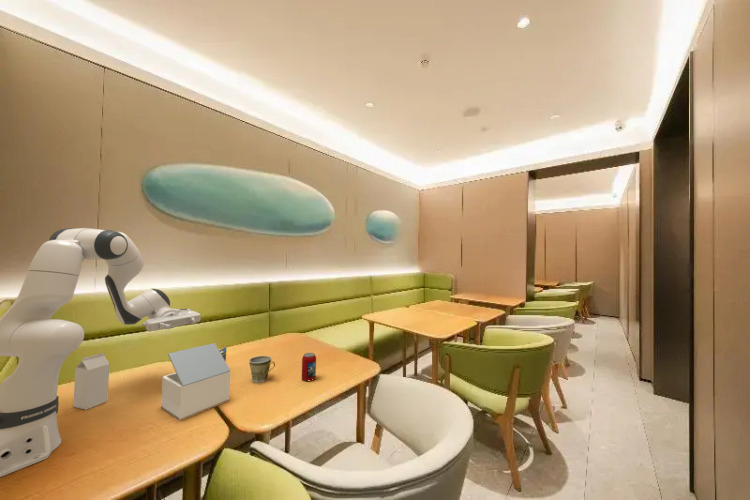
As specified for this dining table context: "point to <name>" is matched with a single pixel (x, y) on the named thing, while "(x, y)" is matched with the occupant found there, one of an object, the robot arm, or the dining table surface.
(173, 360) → the carton lid flap
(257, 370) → the ceramic cup
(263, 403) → the dining table surface
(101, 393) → the milk carton
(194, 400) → the carton
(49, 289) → the robot arm
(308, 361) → the beverage can
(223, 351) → the label tape box
